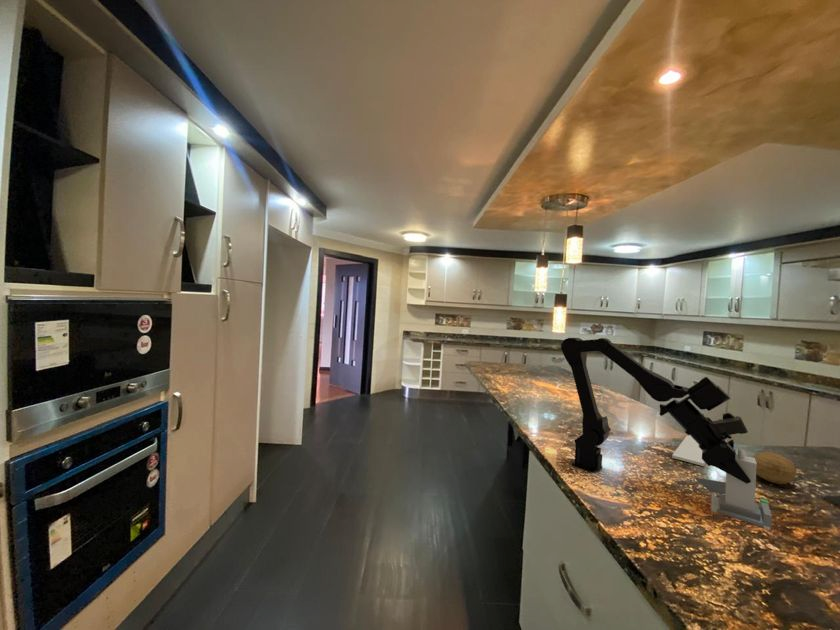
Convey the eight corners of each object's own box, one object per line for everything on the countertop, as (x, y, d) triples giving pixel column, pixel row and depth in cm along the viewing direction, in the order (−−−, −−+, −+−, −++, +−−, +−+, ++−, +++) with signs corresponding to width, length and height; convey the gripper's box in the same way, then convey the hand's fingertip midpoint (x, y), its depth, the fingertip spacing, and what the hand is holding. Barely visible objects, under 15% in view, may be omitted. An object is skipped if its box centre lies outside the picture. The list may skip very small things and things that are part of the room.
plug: (719, 509, 85) (722, 450, 85) (719, 499, 90) (722, 444, 90) (760, 521, 80) (763, 459, 80) (757, 509, 85) (760, 452, 86)
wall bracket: (702, 486, 112) (717, 455, 131) (710, 466, 110) (724, 438, 129) (666, 467, 119) (685, 441, 138) (673, 449, 117) (691, 424, 136)
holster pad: (710, 492, 94) (710, 491, 94) (694, 478, 103) (694, 477, 103) (751, 499, 92) (751, 498, 92) (731, 484, 101) (731, 483, 101)
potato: (790, 479, 107) (791, 452, 107) (801, 495, 96) (803, 466, 96) (746, 468, 113) (748, 444, 113) (752, 483, 102) (753, 455, 102)
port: (711, 512, 84) (712, 497, 84) (711, 496, 92) (712, 483, 92) (771, 530, 77) (772, 515, 77) (765, 511, 86) (766, 497, 86)
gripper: (723, 409, 81) (790, 474, 73) (721, 398, 95) (777, 451, 88) (678, 434, 85) (737, 497, 78) (683, 420, 100) (733, 472, 93)
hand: (748, 478), depth 84 cm, fingers open, 6 cm apart
